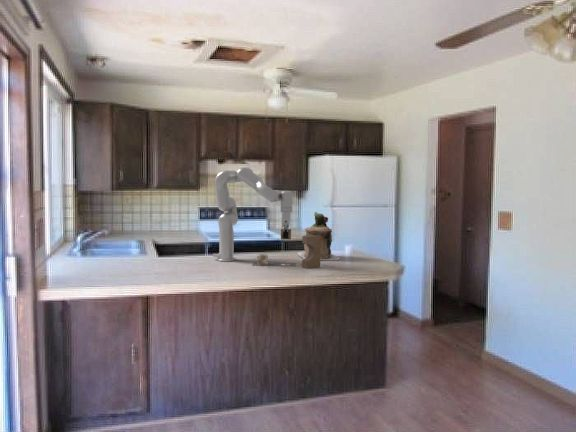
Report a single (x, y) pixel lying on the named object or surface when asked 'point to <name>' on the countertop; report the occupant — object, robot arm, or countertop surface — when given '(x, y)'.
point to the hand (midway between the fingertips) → (285, 237)
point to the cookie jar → (326, 238)
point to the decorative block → (312, 251)
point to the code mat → (276, 264)
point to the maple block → (262, 259)
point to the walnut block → (288, 234)
